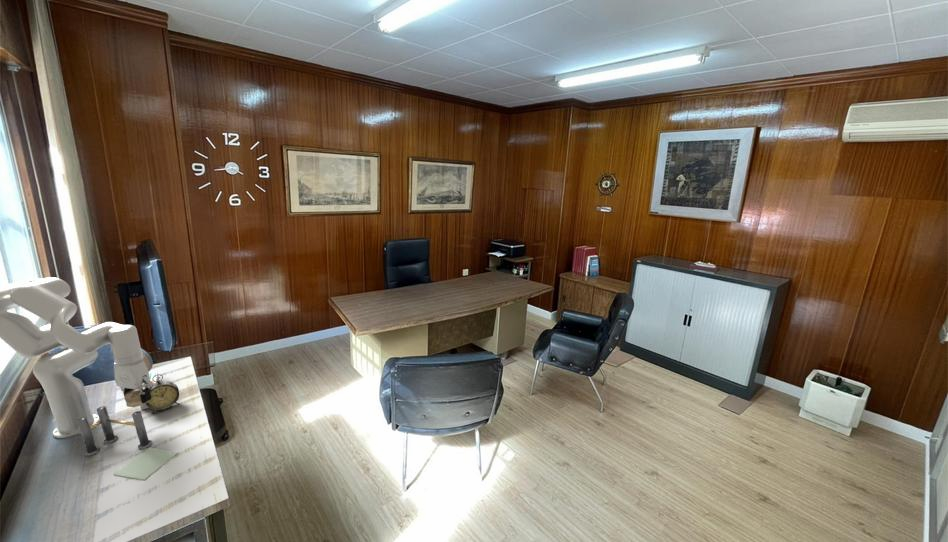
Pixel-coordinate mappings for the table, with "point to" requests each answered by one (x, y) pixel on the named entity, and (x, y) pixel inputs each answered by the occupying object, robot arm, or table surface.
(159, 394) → the alarm clock
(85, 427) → the rope barrier
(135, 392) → the pot
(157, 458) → the pad
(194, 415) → the table surface
